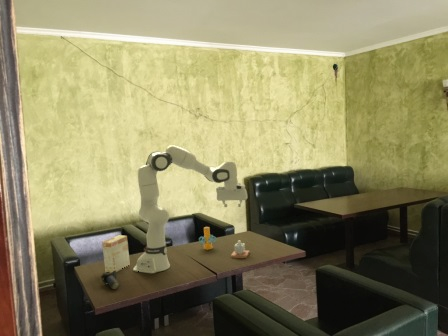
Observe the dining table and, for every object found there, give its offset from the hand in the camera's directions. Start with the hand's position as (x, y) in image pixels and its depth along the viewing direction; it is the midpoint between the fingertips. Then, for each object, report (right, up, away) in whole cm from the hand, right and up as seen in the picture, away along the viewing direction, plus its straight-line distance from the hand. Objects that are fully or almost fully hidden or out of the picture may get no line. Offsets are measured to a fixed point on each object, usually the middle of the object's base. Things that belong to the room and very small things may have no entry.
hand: (232, 206), depth 242 cm
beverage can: (-67, -40, -37) cm, 87 cm away
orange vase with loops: (-17, -31, +17) cm, 39 cm away
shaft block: (+5, -31, -2) cm, 32 cm away
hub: (+5, -29, -2) cm, 29 cm away
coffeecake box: (-72, -38, -11) cm, 82 cm away
